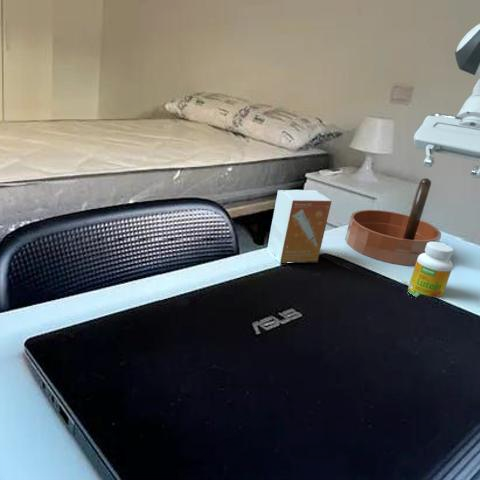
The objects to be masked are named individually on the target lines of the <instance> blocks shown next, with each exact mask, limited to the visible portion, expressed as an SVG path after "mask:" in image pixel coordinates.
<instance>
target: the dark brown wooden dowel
mask: <svg viewBox="0 0 480 480" xmlns="http://www.w3.org/2000/svg"><path fill="white" fill-rule="evenodd" d="M431 185H432V180H431V179H429V178H426V177H425V178H422V179H420V181H419V184H418V187H417V190H416V193H415V197H414V199H413V200H414V201H413V204H412V207H411V210H410V213H409V216H410V217H409V220H408V224H407V227H406V231H405V234H404V237H403V239H409V240H414V239H415V235H416V232H417V229H418V226H419V222H420V220H422V219H421V218H422V215H423V212H424V209H425V206H426V203H427V199H428V195H429V192H430V189H431Z"/></svg>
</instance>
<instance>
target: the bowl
mask: <svg viewBox="0 0 480 480" xmlns="http://www.w3.org/2000/svg"><path fill="white" fill-rule="evenodd" d="M409 217H410V215H408V214H403V213H400V212H395V211H388V210H381V209H361V210H357V211H354V212H353V213H351V215H350V218H349V222H348V225H347V229H346V234H345V238H344V239H345V242H346V244H347V246H349V247H350V248H351V249H352V250H354V251H356V252H358V253H359V254H361V255H363V256H366V257H369V258H371V259H374V260H377V261H380V262H385V263H388V264H393V265H394V264H395V265H400V266H414V267H415V264H416V261H417V259H418V256H419V255H420V254H422V253H426V252H425V248H426V245H427V243H428V242H440V241H441V239H442V232H441V231H440V229H438V228H437V227H436V226H434V225H433V224H431V223H429V222H427V221H425V220H423V219H420V222H419V226H418V229H417V232H416V235H415V239H414V240H409V239H403V237H404V234H405V231H406V227H407V224H408V220H409Z"/></svg>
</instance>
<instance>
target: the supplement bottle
mask: <svg viewBox="0 0 480 480" xmlns="http://www.w3.org/2000/svg"><path fill="white" fill-rule="evenodd" d="M425 252H426V253H422V254H420V255H419V256H418V259H417V261H416V264H415V266H414V268H413V272H412V275H411V277H410V281H409V283H408V286H407V291H408V292H409V293H410V294H412V295H413V296H415V297H416V298H418V297H419V296H420V295H422V296H426V297H431V298H439V297H443V295H444V293H445V290H446V287H447V284H448V281H449V278H450V275H451V273H452V270H453V267H454V265H453V262H452V260H451V257H452V255H453V253H454V248H453V247H452V246H451V245H449V244H446V243H443V242H440V241H439V242H428V243H427V245H426V248H425ZM408 292H407V293H408Z"/></svg>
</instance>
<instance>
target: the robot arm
mask: <svg viewBox="0 0 480 480" xmlns="http://www.w3.org/2000/svg"><path fill="white" fill-rule="evenodd" d="M462 37H463V38H461V40H460V42H458V45H457V47H456V48H455V51H454V57H455V61H456V64H457V67H458V69H459V70H460V71H463V72H465V73H468V74H470V75H473V76H477V77H479V79H478V80H477V81H476V83H475V84H474V86H473V88H472V92H471V95H470V96H469V97H468V98H467V99H466V100H465V101H464V103H463V105H462V107H461V108H460V110H459V111H458V113H457V115H454V114H444V113H441V112H436V113H434V114H429V115H427V116H426V117H425V119H424V120H423V121H422V124H421V125H420V127H419V128H418V129H417V130H416V131H415V133H414V135H413V144H414V146H415V148H416V149H418V150H422V151H425V155H426V157H425V158H424V160H423V164H422V165H423V167H427V168H432V167H433V165H434V164H435V156H433V155H434V154H435V153H437V154H442V155H447V156H450V157H456V158H461V159H466V160H470V161H476V162H480V22H479V23H478V24H476V25H475V26H474V27H472V28H470V30H469V31H468V32H467V33H466V34H465V35H464V36H462ZM470 177H471V178H474V179H480V166H479V165H474V167H473V169H472V170H471V172H470Z"/></svg>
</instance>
